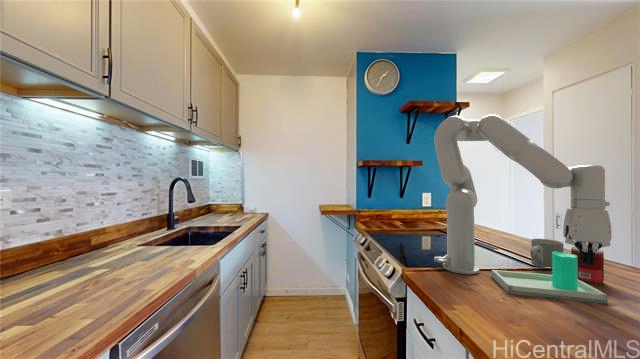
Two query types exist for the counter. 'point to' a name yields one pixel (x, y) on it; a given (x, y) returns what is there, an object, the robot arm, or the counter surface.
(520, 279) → the tray
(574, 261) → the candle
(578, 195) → the robot arm
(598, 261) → the canned food
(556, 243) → the coffee mug
